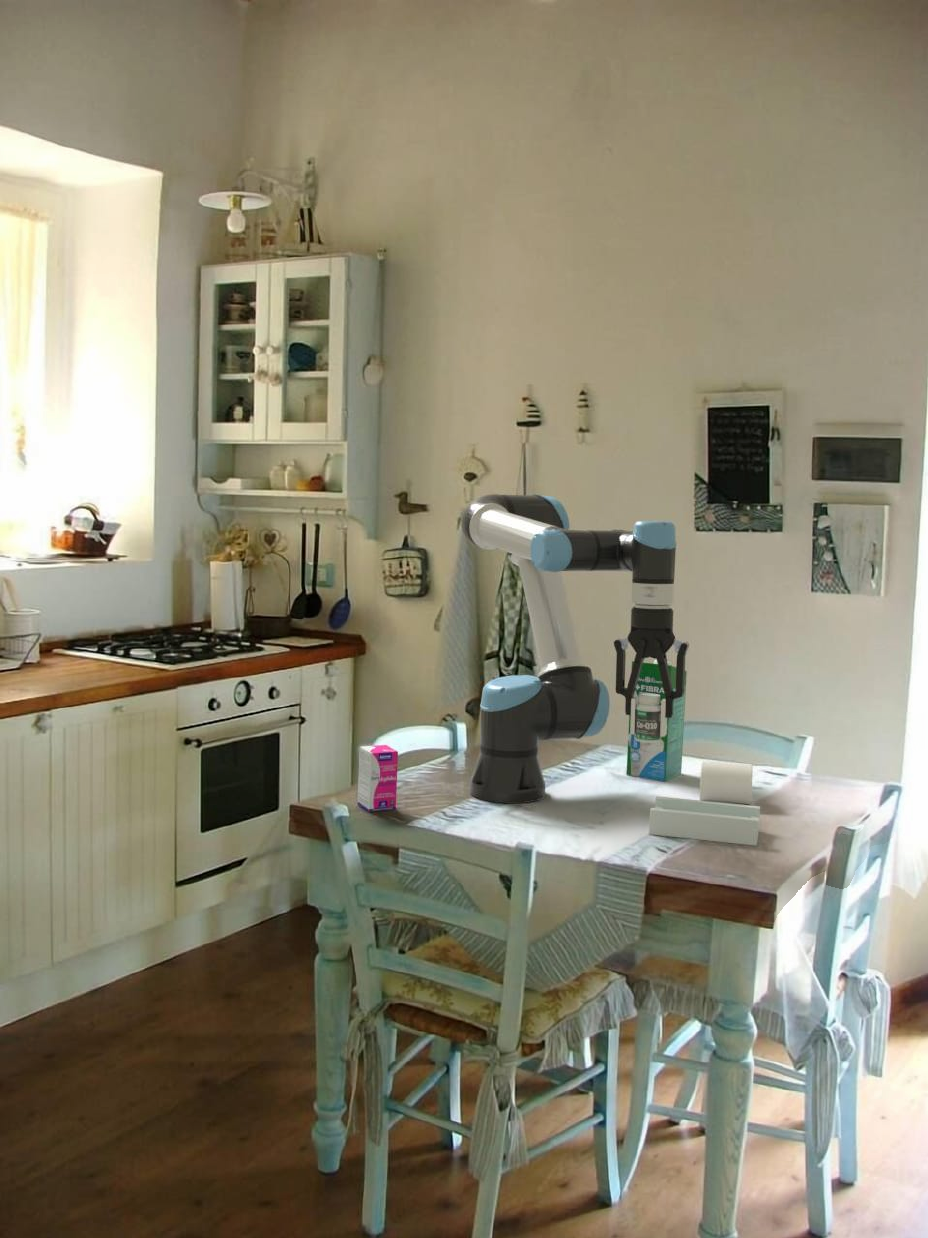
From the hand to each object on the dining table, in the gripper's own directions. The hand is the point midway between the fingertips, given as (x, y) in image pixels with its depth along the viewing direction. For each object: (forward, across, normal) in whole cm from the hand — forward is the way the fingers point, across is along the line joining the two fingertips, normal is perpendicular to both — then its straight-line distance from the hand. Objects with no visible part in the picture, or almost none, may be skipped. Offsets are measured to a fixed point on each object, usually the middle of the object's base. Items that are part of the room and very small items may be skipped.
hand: (648, 733), depth 225 cm
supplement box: (+17, -50, -7) cm, 53 cm away
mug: (+18, +11, +28) cm, 35 cm away
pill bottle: (+1, 0, 0) cm, 1 cm away
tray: (+18, +10, +2) cm, 21 cm away
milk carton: (+17, -6, +42) cm, 46 cm away
